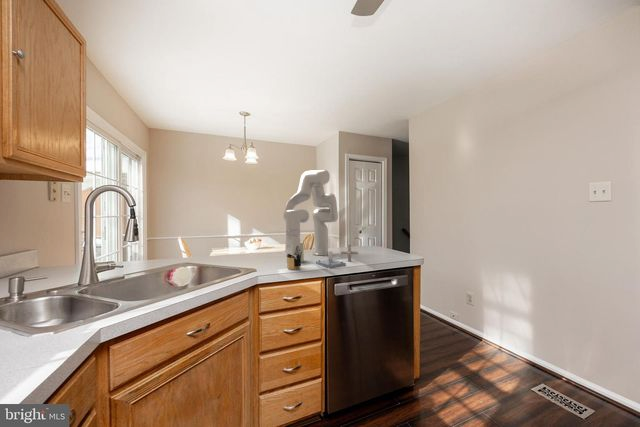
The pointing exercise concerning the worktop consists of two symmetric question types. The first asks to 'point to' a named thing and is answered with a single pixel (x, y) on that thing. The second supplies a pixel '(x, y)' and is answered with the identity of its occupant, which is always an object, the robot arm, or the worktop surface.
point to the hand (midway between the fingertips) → (293, 264)
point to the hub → (291, 263)
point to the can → (302, 252)
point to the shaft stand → (330, 262)
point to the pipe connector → (349, 252)
